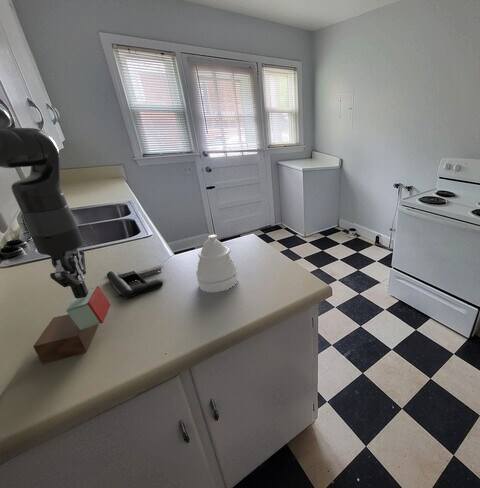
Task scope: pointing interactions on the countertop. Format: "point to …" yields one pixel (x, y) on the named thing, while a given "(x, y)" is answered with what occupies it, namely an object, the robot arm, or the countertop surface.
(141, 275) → the door handle
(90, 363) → the countertop surface
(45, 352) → the stand
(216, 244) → the honey pot
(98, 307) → the mint and red box
